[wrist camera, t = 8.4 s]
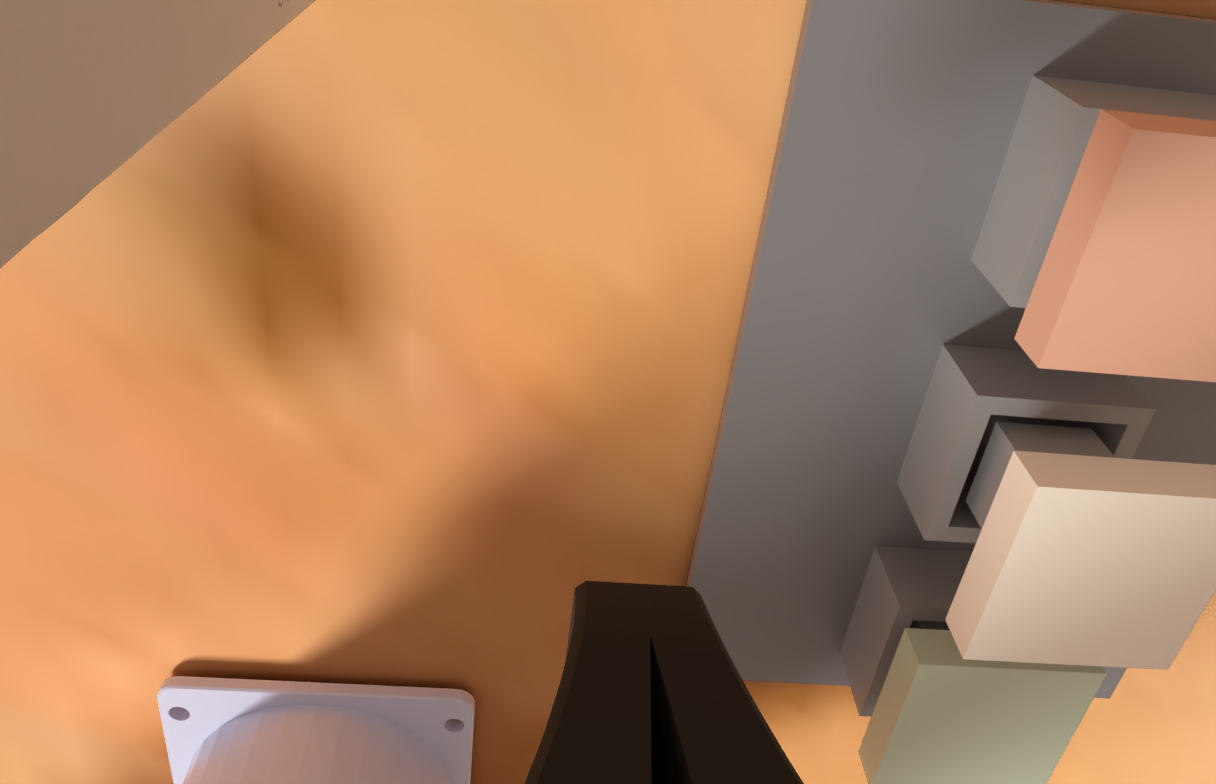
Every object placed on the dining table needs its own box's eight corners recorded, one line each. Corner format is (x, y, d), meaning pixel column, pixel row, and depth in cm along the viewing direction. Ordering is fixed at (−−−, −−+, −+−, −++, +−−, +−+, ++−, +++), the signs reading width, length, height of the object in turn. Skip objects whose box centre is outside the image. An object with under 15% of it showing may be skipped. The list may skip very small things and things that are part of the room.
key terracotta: (1157, 293, 19) (1264, 386, 16) (964, 276, 19) (1037, 368, 16) (1249, 90, 17) (1390, 155, 14) (1034, 67, 17) (1133, 128, 14)
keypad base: (1102, 686, 27) (1146, 761, 25) (669, 665, 26) (678, 741, 24) (1455, 47, 18) (1568, 82, 16) (812, -28, 17) (847, -1, 15)
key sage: (984, 675, 25) (1040, 795, 22) (833, 668, 25) (869, 789, 22) (1037, 559, 23) (1106, 673, 20) (873, 548, 23) (919, 664, 20)
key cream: (1084, 546, 21) (1167, 669, 18) (906, 534, 21) (963, 658, 18) (1159, 390, 19) (1268, 502, 16) (963, 374, 19) (1037, 486, 16)
